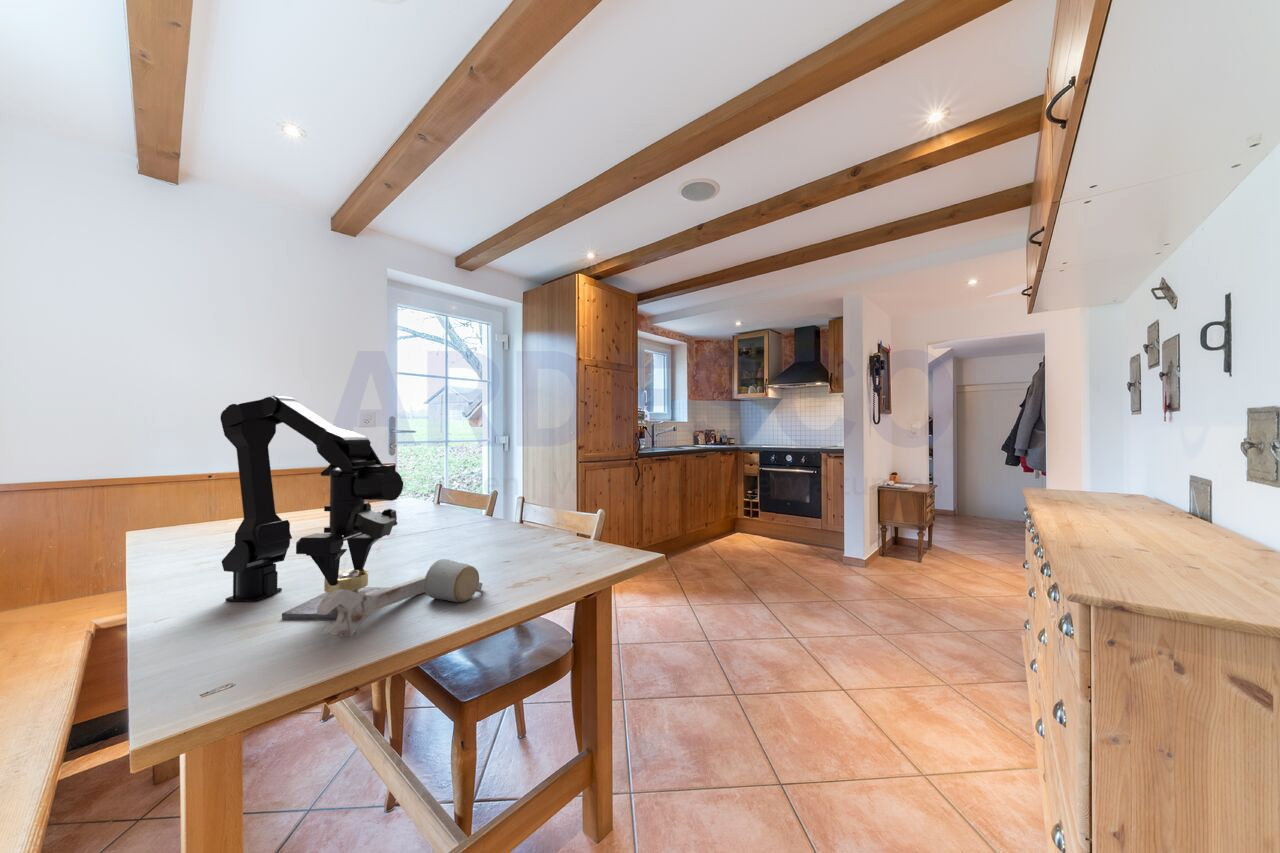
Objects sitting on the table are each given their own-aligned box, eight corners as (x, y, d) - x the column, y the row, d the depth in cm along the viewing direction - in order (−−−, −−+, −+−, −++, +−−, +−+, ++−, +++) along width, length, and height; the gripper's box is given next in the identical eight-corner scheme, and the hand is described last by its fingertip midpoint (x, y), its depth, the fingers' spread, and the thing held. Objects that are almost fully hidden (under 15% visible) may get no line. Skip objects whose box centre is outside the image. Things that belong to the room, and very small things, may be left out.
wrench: (434, 600, 97) (322, 650, 68) (426, 600, 97) (311, 649, 68) (437, 562, 98) (328, 595, 69) (429, 562, 98) (317, 594, 69)
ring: (315, 593, 84) (315, 580, 84) (341, 580, 91) (341, 568, 91) (352, 593, 84) (352, 580, 84) (375, 581, 91) (375, 569, 91)
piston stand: (281, 619, 80) (282, 585, 80) (336, 591, 94) (336, 563, 94) (358, 619, 80) (358, 586, 80) (401, 592, 94) (402, 563, 94)
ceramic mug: (456, 608, 85) (456, 568, 85) (422, 603, 88) (423, 563, 88) (492, 591, 95) (492, 555, 95) (461, 586, 98) (462, 551, 98)
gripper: (356, 507, 78) (355, 596, 78) (413, 493, 97) (412, 565, 96) (294, 506, 78) (292, 596, 78) (362, 492, 97) (361, 564, 97)
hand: (346, 579), depth 87 cm, fingers closed on ring, 7 cm apart
